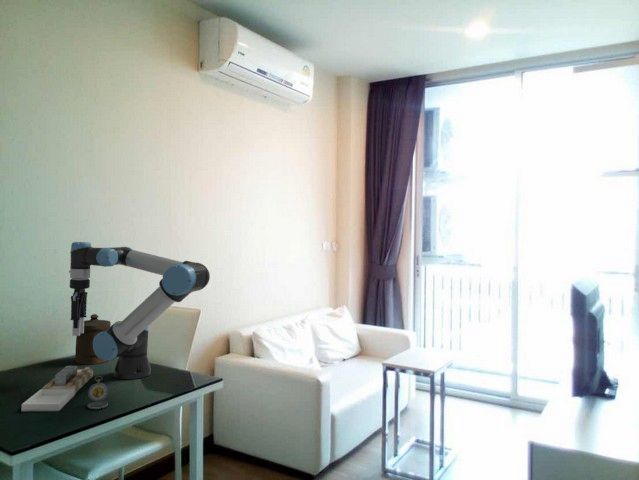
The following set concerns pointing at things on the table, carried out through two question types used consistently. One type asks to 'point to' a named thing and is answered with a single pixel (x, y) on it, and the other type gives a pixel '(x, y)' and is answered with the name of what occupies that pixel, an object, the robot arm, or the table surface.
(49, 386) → the slot board
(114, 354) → the robot arm
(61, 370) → the grey square block
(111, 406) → the table surface
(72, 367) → the gray cube
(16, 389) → the table surface
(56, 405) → the tray
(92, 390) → the pocket watch
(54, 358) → the table surface
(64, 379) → the grey cubic block
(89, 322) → the wooden container
